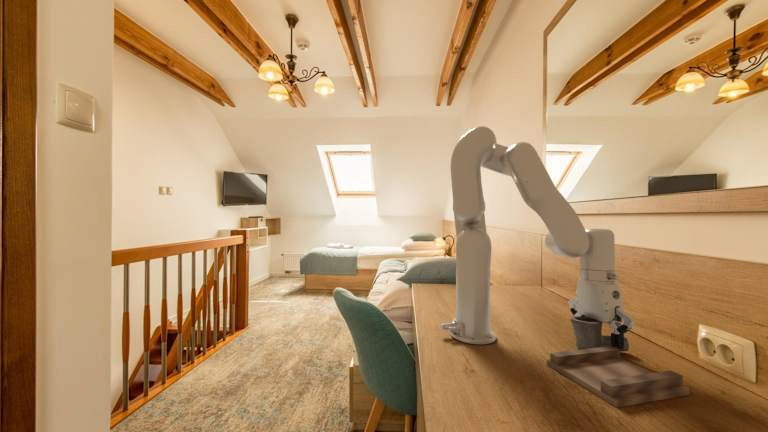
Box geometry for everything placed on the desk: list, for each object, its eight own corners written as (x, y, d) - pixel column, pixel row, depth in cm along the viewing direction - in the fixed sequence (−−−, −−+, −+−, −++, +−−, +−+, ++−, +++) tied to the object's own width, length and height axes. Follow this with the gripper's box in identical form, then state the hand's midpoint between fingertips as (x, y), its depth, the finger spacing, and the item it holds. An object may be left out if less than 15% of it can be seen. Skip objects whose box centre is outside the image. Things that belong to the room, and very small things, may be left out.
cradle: (616, 407, 52) (616, 389, 52) (546, 364, 68) (546, 350, 68) (689, 394, 56) (689, 378, 56) (607, 357, 72) (607, 344, 72)
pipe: (633, 358, 72) (632, 325, 72) (575, 352, 74) (575, 321, 74) (618, 348, 78) (618, 318, 78) (565, 343, 80) (565, 314, 80)
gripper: (644, 281, 69) (646, 354, 68) (579, 270, 86) (580, 328, 85) (619, 282, 67) (621, 357, 67) (558, 271, 84) (559, 330, 83)
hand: (598, 341), depth 76 cm, fingers open, 9 cm apart
